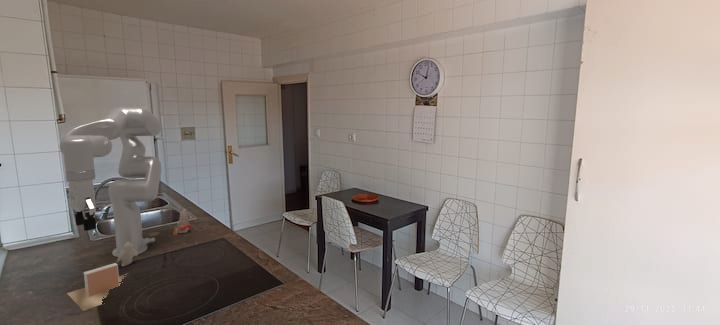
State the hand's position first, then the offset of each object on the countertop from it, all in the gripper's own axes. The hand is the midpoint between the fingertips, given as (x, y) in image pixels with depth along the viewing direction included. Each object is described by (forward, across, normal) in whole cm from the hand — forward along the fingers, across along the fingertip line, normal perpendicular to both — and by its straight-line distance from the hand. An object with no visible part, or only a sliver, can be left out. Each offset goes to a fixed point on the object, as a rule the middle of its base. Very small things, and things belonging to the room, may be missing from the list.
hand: (86, 226), depth 118 cm
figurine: (+22, -28, +45) cm, 57 cm away
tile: (+21, +7, +1) cm, 22 cm away
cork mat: (+22, +8, +2) cm, 23 cm away
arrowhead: (+22, -8, +14) cm, 27 cm away
